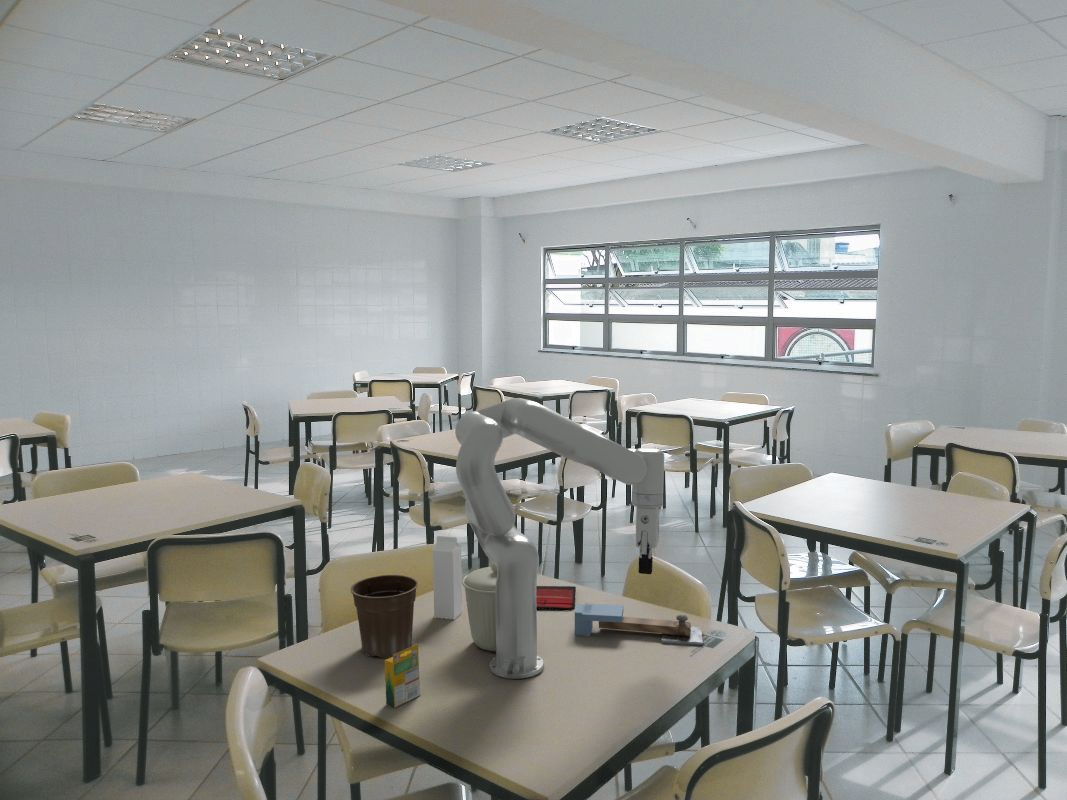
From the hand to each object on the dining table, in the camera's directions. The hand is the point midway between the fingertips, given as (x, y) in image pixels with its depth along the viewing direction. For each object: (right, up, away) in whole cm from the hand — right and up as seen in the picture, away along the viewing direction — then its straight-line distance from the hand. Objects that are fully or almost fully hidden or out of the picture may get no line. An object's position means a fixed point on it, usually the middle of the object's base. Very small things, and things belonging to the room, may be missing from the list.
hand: (645, 572), depth 194 cm
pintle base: (+10, -18, +7) cm, 22 cm away
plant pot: (-64, -19, +2) cm, 67 cm away
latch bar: (+1, -17, +10) cm, 19 cm away
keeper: (-10, -18, +11) cm, 23 cm away
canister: (-36, -19, +4) cm, 41 cm away
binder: (-26, -16, +35) cm, 46 cm away
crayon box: (-55, -22, -25) cm, 64 cm away
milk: (-51, -17, +24) cm, 59 cm away
